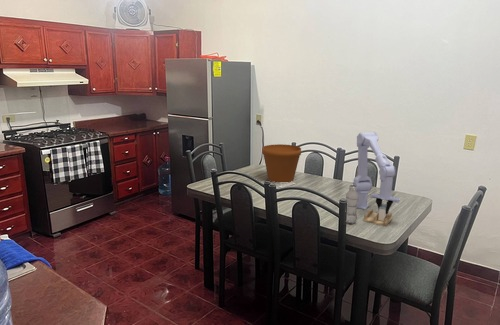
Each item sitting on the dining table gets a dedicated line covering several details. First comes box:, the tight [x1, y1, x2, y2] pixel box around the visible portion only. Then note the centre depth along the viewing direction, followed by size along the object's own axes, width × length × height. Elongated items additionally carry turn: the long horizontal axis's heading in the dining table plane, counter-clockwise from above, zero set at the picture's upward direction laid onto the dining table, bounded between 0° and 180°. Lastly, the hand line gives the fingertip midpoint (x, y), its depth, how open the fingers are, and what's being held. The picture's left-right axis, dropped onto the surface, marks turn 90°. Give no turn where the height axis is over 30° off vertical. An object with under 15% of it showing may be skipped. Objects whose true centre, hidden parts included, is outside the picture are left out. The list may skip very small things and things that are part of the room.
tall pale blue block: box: [378, 202, 389, 221], centre depth 191 cm, size 3×7×7 cm, turn 146°
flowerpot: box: [261, 143, 302, 183], centre depth 264 cm, size 28×28×24 cm
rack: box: [362, 208, 393, 227], centre depth 193 cm, size 12×13×3 cm
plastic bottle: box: [345, 184, 359, 224], centre depth 187 cm, size 6×7×20 cm
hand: (383, 212), depth 191 cm, fingers closed on tall pale blue block, 3 cm apart
